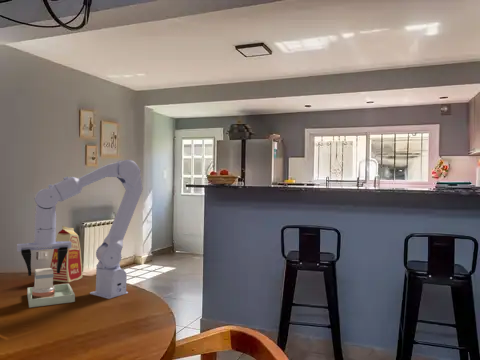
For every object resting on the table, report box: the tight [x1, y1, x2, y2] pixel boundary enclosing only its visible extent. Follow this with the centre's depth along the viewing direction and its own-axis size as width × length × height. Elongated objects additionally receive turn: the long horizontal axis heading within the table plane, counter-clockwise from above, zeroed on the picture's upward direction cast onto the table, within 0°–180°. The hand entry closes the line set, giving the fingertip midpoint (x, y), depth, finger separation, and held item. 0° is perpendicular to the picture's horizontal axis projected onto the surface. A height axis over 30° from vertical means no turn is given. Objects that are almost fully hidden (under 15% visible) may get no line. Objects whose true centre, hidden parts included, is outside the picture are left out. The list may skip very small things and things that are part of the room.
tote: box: [26, 283, 76, 308], centre depth 118 cm, size 14×12×2 cm
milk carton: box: [49, 225, 83, 283], centre depth 142 cm, size 9×9×20 cm
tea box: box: [34, 267, 54, 290], centre depth 115 cm, size 5×5×5 cm
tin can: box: [32, 284, 55, 299], centre depth 115 cm, size 6×6×4 cm
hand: (44, 273), depth 115 cm, fingers open, 7 cm apart
